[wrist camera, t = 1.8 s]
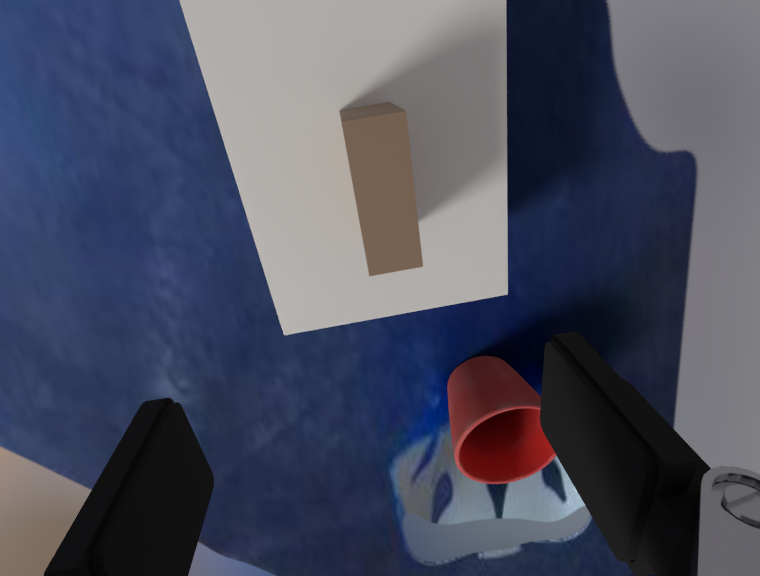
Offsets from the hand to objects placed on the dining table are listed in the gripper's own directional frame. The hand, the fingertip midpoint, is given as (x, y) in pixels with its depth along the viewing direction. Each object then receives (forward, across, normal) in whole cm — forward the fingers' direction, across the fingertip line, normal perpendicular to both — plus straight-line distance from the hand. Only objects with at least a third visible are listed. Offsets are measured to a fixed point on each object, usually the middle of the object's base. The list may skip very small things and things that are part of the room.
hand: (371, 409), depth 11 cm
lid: (+20, -2, -2) cm, 20 cm away
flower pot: (+29, -12, +26) cm, 41 cm away
